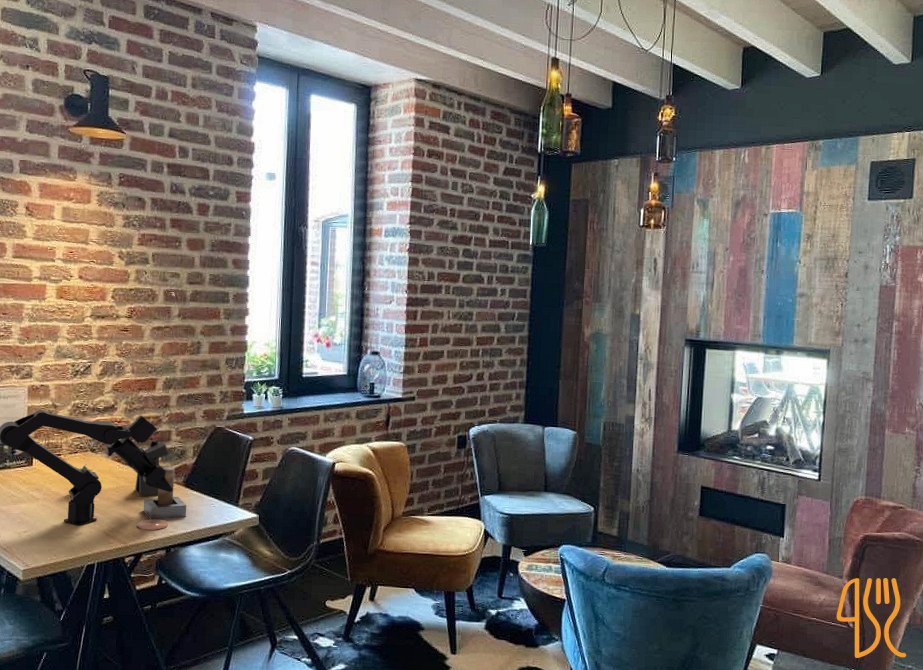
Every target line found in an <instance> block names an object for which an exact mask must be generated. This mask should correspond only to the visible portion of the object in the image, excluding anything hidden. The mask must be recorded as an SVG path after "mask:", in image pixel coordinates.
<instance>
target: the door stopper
mask: <svg viewBox="0 0 923 670" xmlns="http://www.w3.org/2000/svg"><path fill="white" fill-rule="evenodd" d="M155 461H156V465H160V458H158V459H156V460H155ZM134 491H136V493H137V492H138V493H137V494H138V495H139V497H150V496H151V497H153V496H158V488H155V487H151V486H149V485H148V484H146V483H145V482H144V480H143V477H142V476H140V475H139V474H138V473H137V472H136V482H135V488H134Z"/></svg>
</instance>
